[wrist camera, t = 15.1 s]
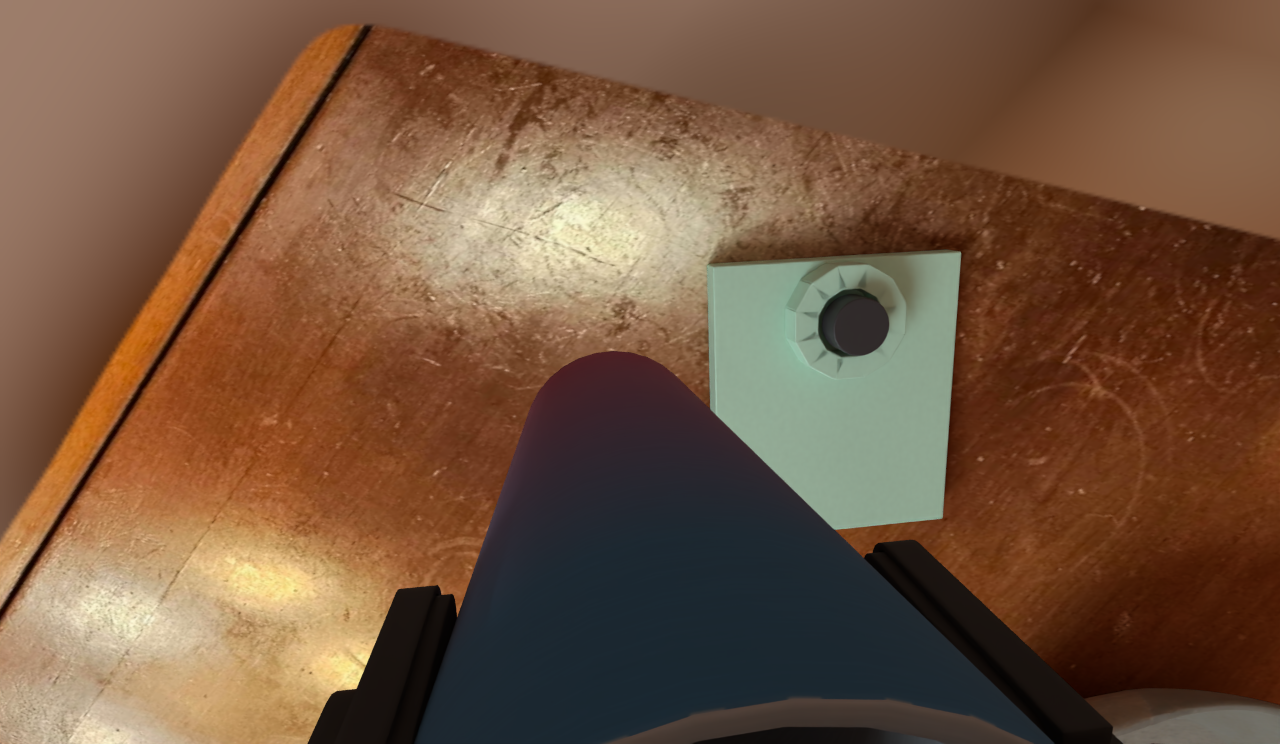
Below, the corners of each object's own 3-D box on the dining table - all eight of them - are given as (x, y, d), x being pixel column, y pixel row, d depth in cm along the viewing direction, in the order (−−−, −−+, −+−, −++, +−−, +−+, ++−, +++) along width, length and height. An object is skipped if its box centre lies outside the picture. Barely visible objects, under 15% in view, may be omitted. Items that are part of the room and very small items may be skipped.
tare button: (821, 295, 33) (834, 300, 32) (876, 291, 34) (891, 296, 32) (820, 351, 34) (832, 358, 33) (874, 347, 34) (888, 354, 33)
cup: (647, 271, 19) (954, 510, 4) (769, 460, 21) (1278, 1080, 6) (443, 408, 19) (78, 1072, 5) (582, 583, 21) (638, 1457, 6)
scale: (706, 263, 35) (720, 269, 32) (947, 249, 36) (981, 253, 33) (712, 530, 39) (725, 557, 36) (930, 508, 40) (959, 532, 37)
